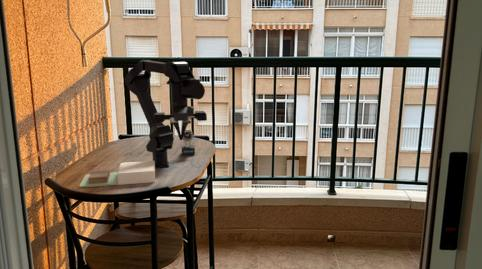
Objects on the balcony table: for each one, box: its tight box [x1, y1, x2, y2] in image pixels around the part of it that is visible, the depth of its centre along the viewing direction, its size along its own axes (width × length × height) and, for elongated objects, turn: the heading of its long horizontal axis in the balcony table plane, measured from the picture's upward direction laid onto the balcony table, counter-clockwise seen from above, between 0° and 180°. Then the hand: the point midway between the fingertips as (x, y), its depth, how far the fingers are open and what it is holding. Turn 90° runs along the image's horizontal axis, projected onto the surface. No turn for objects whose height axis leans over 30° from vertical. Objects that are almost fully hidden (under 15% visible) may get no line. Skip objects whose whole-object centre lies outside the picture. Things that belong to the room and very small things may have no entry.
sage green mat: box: [78, 171, 118, 188], centre depth 140 cm, size 13×12×1 cm
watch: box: [181, 128, 196, 156], centre depth 172 cm, size 6×8×11 cm
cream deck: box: [117, 160, 156, 186], centre depth 142 cm, size 13×12×4 cm
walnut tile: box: [88, 168, 111, 184], centre depth 139 cm, size 9×6×2 cm, turn 12°
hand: (181, 140), depth 146 cm, fingers closed
